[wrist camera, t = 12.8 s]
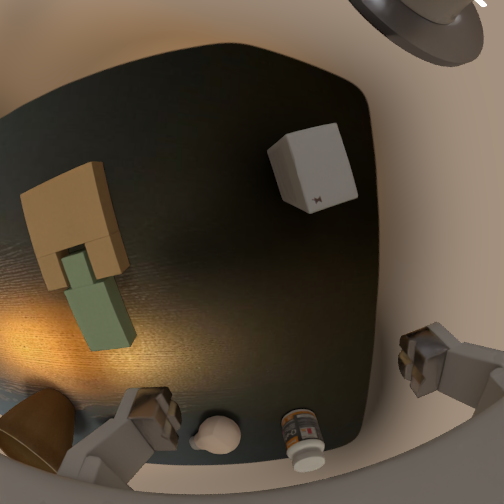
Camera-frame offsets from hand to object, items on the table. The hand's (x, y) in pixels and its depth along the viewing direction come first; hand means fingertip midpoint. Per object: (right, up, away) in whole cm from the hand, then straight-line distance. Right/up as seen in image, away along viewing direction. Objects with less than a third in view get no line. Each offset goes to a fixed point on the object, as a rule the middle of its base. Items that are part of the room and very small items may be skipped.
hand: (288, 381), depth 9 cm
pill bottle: (+6, -23, +33) cm, 40 cm away
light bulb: (-8, -24, +32) cm, 41 cm away
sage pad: (-21, -1, +25) cm, 33 cm away
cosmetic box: (+3, +13, +22) cm, 26 cm away
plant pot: (-38, -24, +30) cm, 54 cm away
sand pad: (-23, +7, +23) cm, 33 cm away
